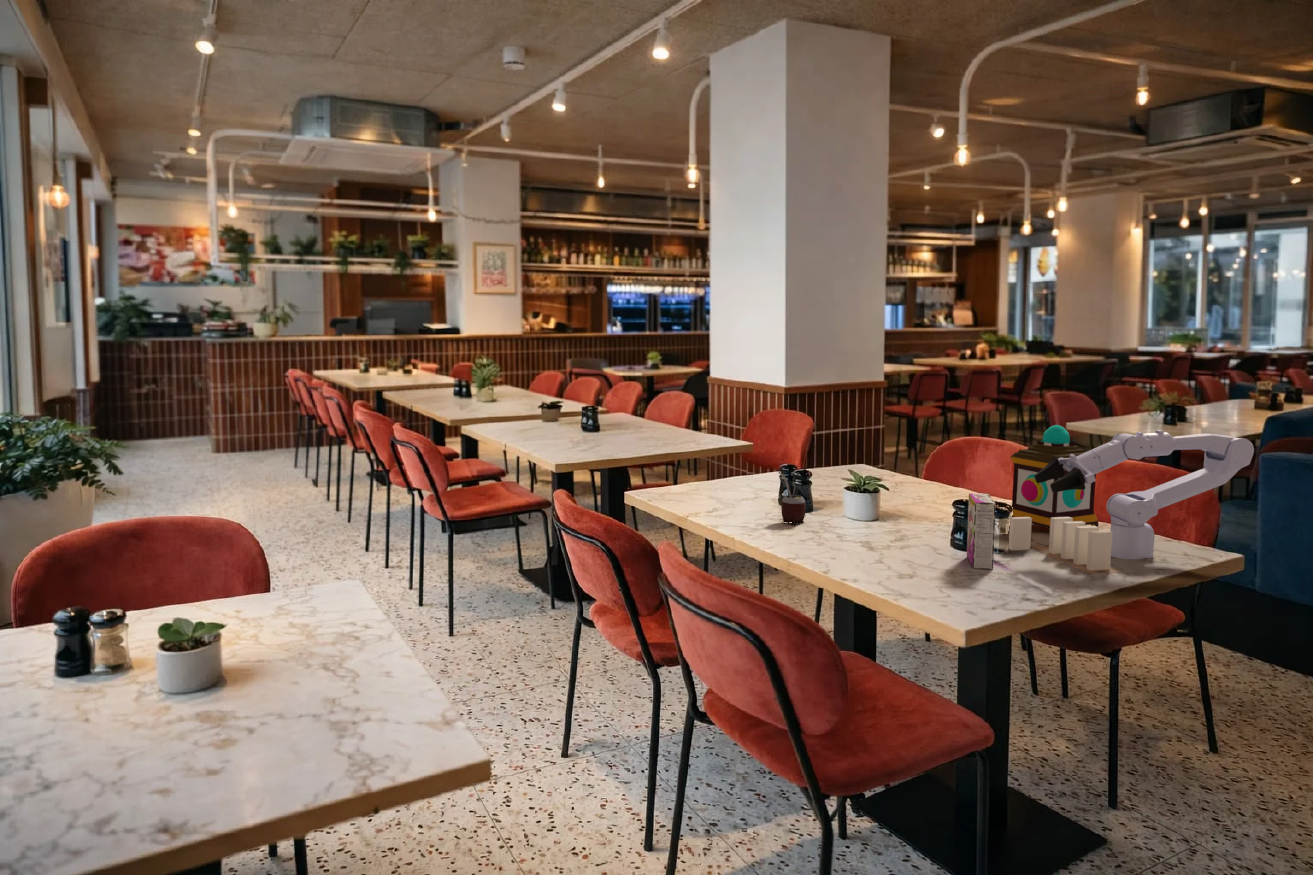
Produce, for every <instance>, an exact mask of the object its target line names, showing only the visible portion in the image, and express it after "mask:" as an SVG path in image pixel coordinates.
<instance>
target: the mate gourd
mask: <svg viewBox="0 0 1313 875" xmlns="http://www.w3.org/2000/svg"><path fill="white" fill-rule="evenodd" d="M777 472H778V474H779V475H781V477H782V478H783V480H784V481H783V482H785V485H786V486H785V487H786V489H787V494H788V495H784V497H783V498H782V499H781V505H780V508H781V518H782V520H783V521H782V522H792V523H793V525H796V526H797V524H796V523H804V524H805V521H804V520H805V517H806V509H807V504H806V500H805V498H804V497H803V496H801V495H799V494H791V491H790V486H789V484H788V479H787V478H786V476H785V474H783V473H782V472H781V471H779V470H778V471H777ZM793 525H792V526H793Z"/></svg>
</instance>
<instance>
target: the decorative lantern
mask: <svg viewBox="0 0 1313 875" xmlns="http://www.w3.org/2000/svg"><path fill="white" fill-rule="evenodd" d="M1070 439H1071V438H1070V434H1069V432H1068V430H1067V429H1066V428H1065V427H1064V426H1062V425H1059V424H1054V425H1052V426H1050V427H1048V428H1047V429H1046V430H1045V431H1044V432H1043V435H1042V440H1037V442H1036V443H1034V444H1032V445H1031V446H1029V447H1027V448H1023V449H1022V448H1021V449H1019V450H1018V451H1015V452H1013V454H1011V455H1010V460H1011V462H1012V465H1013V476H1012V477H1013V478H1012V497H1011V506H1012V507H1013V515H1012V517H1030V518H1032V525H1036V526H1039V527H1043V528H1047V529H1048V530H1050V522H1051V517H1071V518H1073V522H1074V521H1082V522H1085V526H1096V527H1099V525H1100V524H1099V520H1098V518H1097V516H1096V513H1095V509H1094V508H1095V507H1094V506H1095V493H1096V481H1094V482H1092V483H1090V484H1087V483H1086V482H1085V489H1084V490H1080V489H1073V490H1065V491H1060V492H1055V493H1053V492H1052V490H1051V487H1050V484H1051V483H1053V482H1054V481H1056V480H1058V479H1060V478H1056V479H1051V480H1048V481H1045V482H1042V483H1037V482H1036V480H1035V477H1034V475H1036V474H1037V473H1038V472H1039V471H1041V470H1042V469H1043V468H1044V467H1045V466H1046V465H1047V464H1048V463H1049V462H1050V460H1051V459H1052V458H1053V457H1056V458H1058V459H1059V458H1061V457H1062V458H1070V456H1069V455H1070V454H1073V455H1075V456H1079V455H1081V454H1083V453H1085V452H1086V451H1085V450H1084V449H1082V448H1080V447H1079V445H1076V443H1075V441H1074V442H1073V441H1070ZM1063 471H1064V474H1065V475H1066V474H1067V473H1069V471H1067V470H1063ZM1096 475H1097V474H1094V477H1095V480H1097V476H1096Z"/></svg>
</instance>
